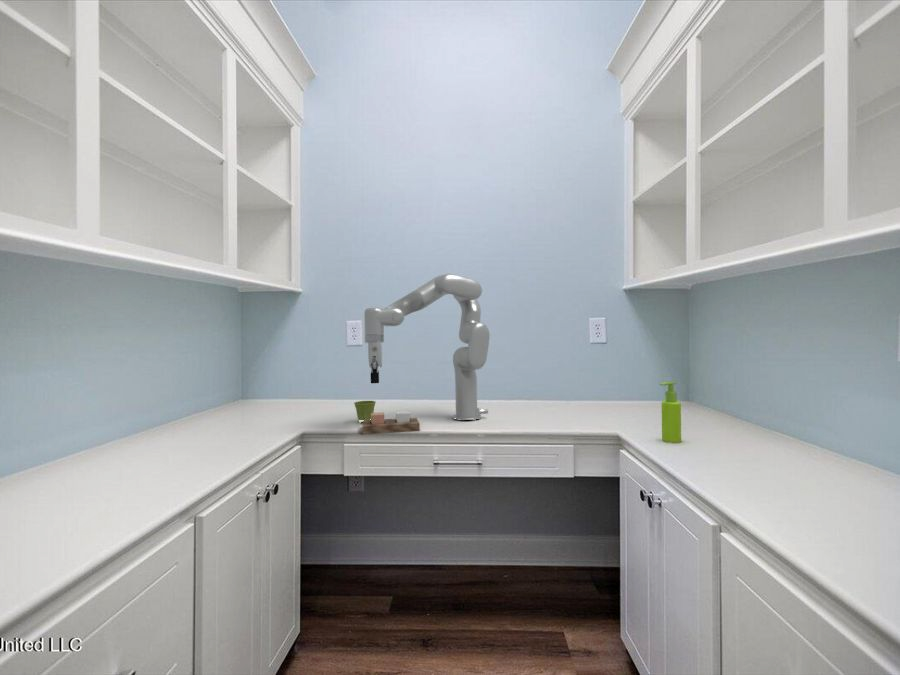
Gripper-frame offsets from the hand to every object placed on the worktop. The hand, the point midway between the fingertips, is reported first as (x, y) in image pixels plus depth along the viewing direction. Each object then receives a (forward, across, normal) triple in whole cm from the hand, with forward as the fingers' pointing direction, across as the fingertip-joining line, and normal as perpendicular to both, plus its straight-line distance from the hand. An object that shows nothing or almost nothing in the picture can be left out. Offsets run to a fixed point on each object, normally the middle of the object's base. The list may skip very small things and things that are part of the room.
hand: (374, 381), depth 183 cm
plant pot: (+19, +17, +4) cm, 26 cm away
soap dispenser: (+18, -44, -99) cm, 110 cm away
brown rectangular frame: (+19, -1, -6) cm, 20 cm away
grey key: (+17, -1, -11) cm, 20 cm away
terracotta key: (+17, -1, -1) cm, 17 cm away
